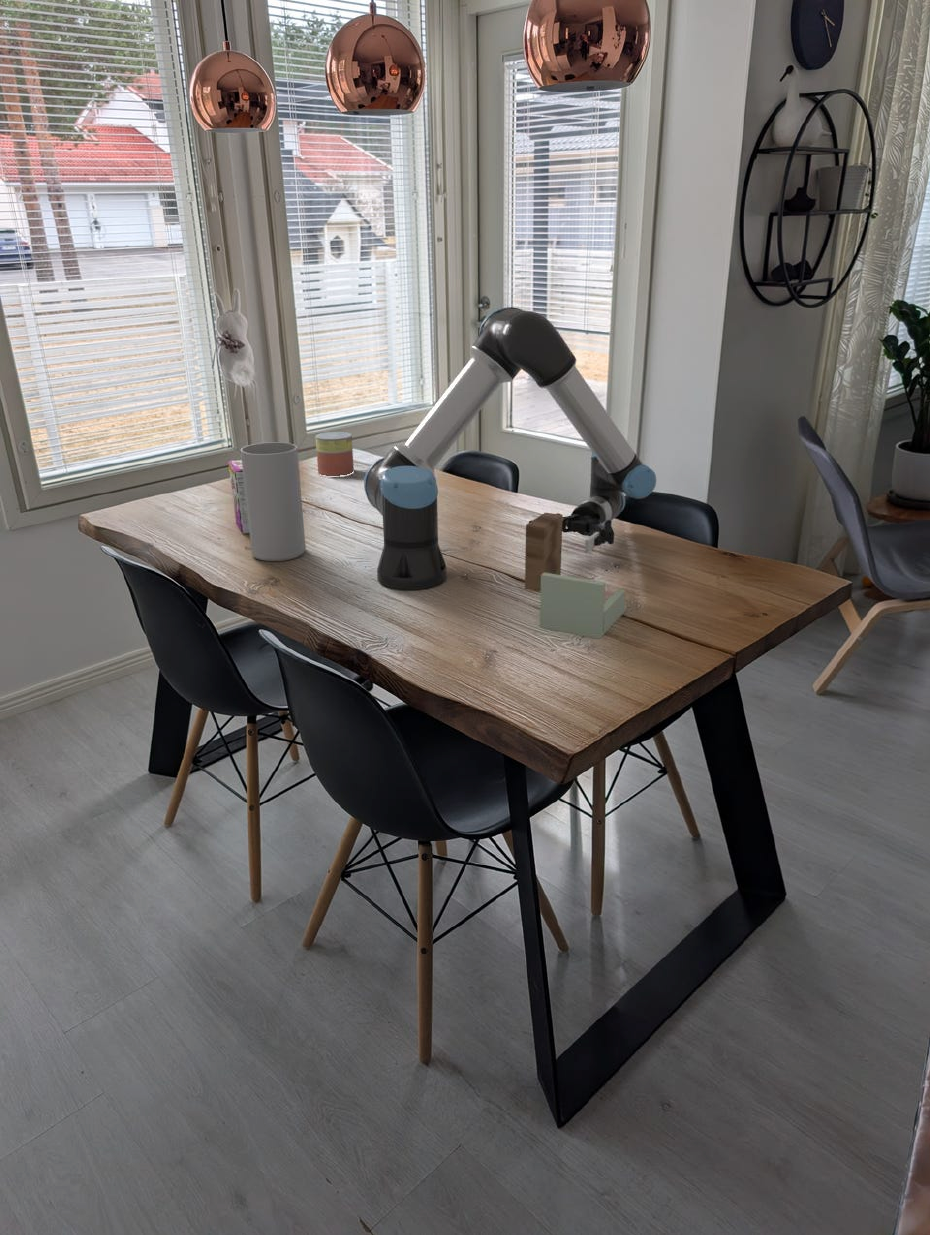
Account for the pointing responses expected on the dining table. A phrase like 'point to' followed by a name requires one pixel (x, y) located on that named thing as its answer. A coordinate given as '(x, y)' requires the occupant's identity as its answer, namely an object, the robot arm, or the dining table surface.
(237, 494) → the candy bar box
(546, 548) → the walnut block
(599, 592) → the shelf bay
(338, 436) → the canned food
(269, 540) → the cylinder vase
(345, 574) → the dining table surface
